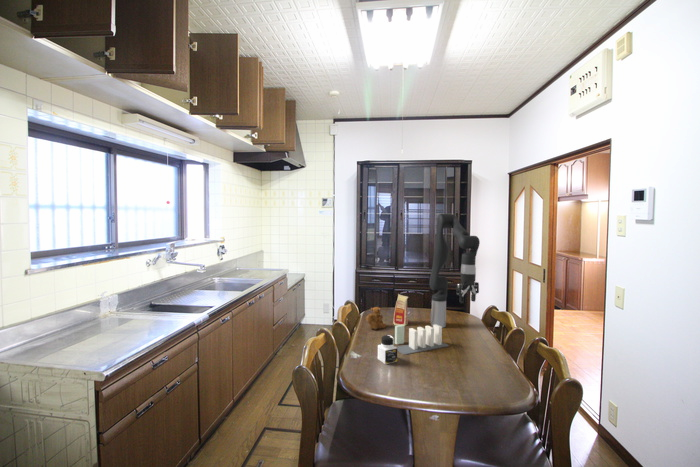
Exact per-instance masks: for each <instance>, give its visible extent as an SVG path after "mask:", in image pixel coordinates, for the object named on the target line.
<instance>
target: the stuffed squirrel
mask: <svg viewBox="0 0 700 467" xmlns="http://www.w3.org/2000/svg"><path fill="white" fill-rule="evenodd" d="M370 310H371V311H372V313H370V314H368V315H367V316H365V321H366V322H367V323H368V324H369V328H370V329H371V330H378V329H385V328H386V327H387V324H386V323H384V321H383V318H384V316H383V314H381V313H383V310H381V308H380V307H379V306H375V307H370Z"/></svg>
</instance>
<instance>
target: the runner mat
mask: <svg viewBox="0 0 700 467" xmlns="http://www.w3.org/2000/svg"><path fill="white" fill-rule="evenodd" d="M396 347H397V353H400V354H401V355H403V356H406V355H411V354H416V353H420V352H425V351H432V350H437V349H442V348H447V347H450V345H449V344H447V343H445V342H443V341H442V345H438V344H436V343H434V346H432V347H430V346H429V345H427V344H426V348H421V347H420V346H418V345H417V349H416V350H414V349H412V348H410V347H409V343H408V344H403V345H399V346H396Z"/></svg>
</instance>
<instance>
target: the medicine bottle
mask: <svg viewBox="0 0 700 467" xmlns="http://www.w3.org/2000/svg"><path fill="white" fill-rule="evenodd" d="M380 340H381V341H380V342H381V344H378V345H377V360H378V361H380V362H382V363H383V364H384V365H389V364H394V363H397V362H398V351H397V346H395V345H394V344H395V337H393V336H392V335H391V334H390V335H388V334H385V335H382V336H381V338H380Z"/></svg>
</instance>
